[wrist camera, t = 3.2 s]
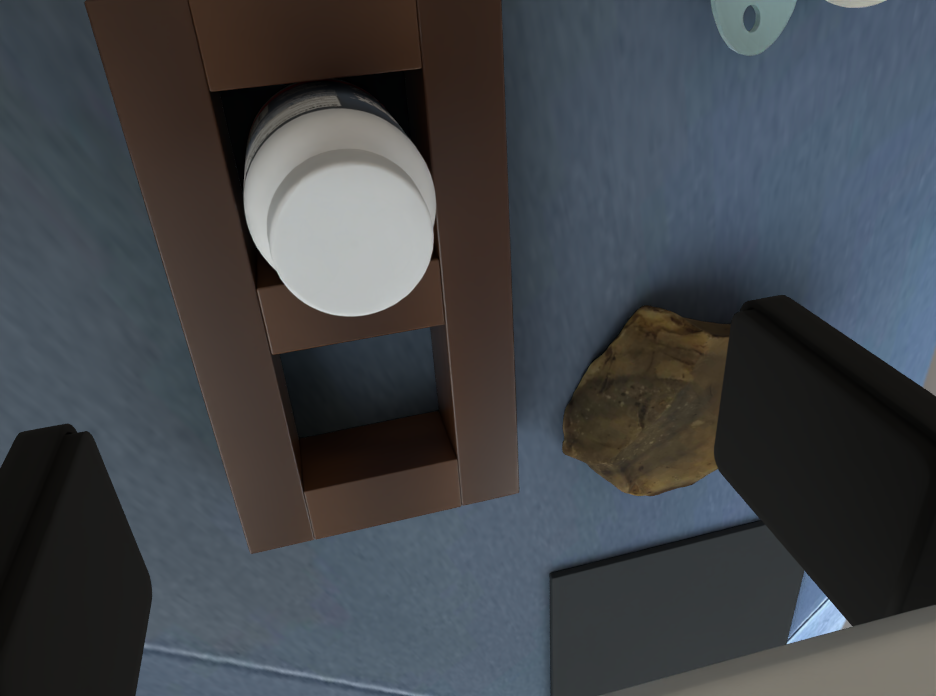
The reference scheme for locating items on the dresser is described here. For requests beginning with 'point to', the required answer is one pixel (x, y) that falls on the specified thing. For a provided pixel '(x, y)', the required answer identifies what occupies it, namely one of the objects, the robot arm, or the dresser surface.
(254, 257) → the stand
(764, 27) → the pacifier
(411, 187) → the pill bottle
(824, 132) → the dresser surface
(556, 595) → the mat
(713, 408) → the decorative stone
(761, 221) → the dresser surface
